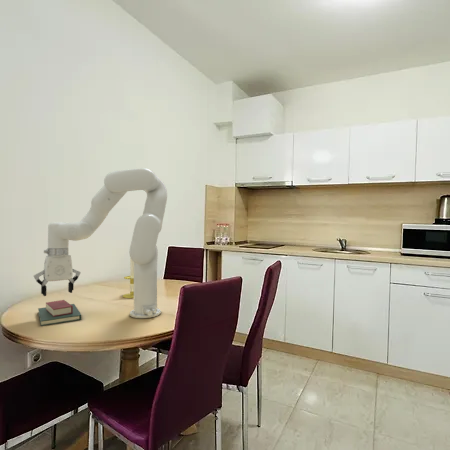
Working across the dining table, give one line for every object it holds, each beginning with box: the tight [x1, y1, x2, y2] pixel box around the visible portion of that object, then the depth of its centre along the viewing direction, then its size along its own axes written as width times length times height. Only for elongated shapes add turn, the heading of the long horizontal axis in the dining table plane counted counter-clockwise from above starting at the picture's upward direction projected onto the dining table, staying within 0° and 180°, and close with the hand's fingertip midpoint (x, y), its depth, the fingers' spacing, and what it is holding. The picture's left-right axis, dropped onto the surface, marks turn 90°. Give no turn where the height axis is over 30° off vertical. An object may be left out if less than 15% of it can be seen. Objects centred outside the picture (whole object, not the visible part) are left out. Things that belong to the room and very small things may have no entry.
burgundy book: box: [45, 299, 73, 317], centre depth 132 cm, size 13×7×3 cm, turn 41°
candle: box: [122, 256, 134, 299], centre depth 168 cm, size 10×10×27 cm
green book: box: [37, 303, 82, 327], centre depth 133 cm, size 20×14×2 cm
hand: (57, 293), depth 132 cm, fingers open, 9 cm apart
